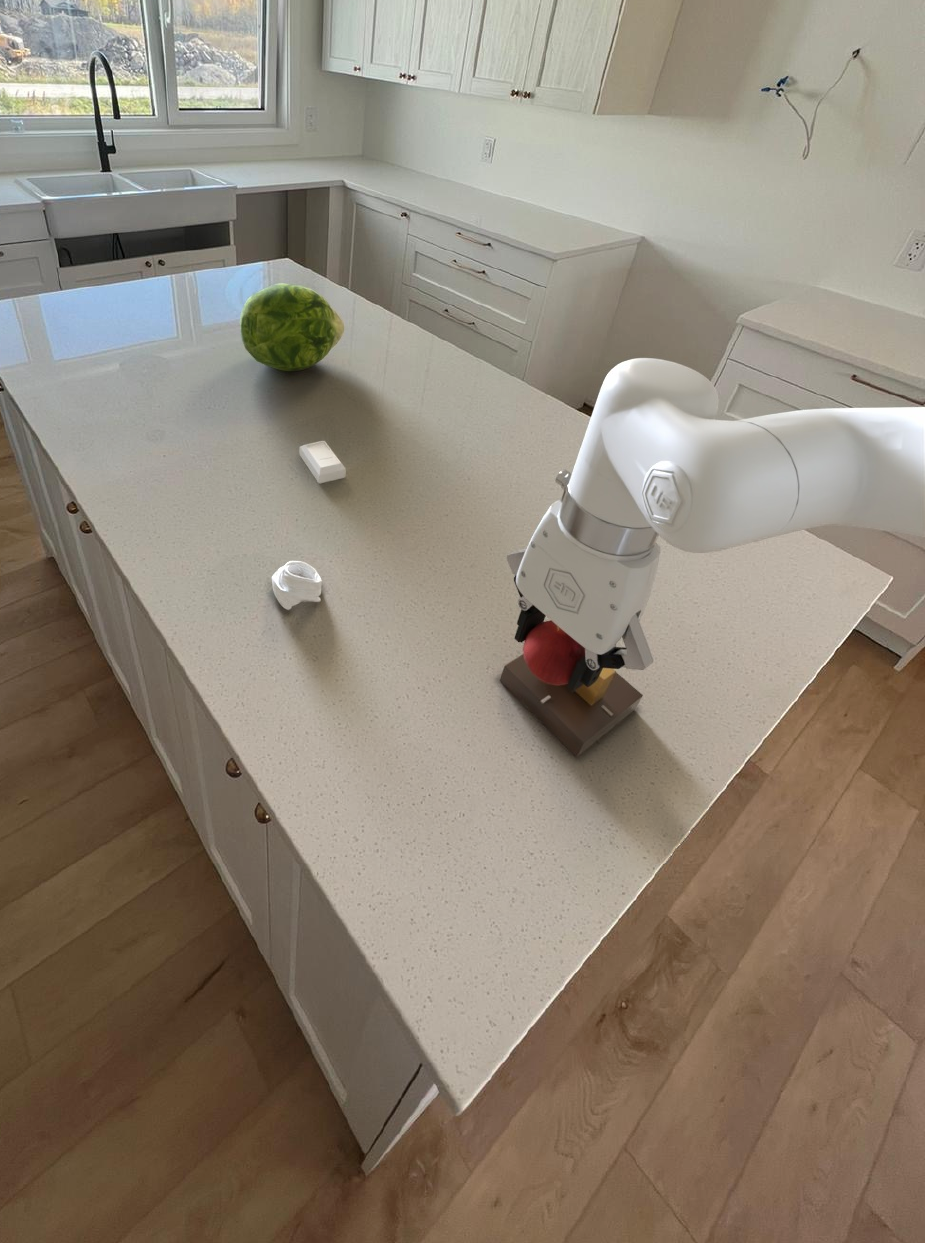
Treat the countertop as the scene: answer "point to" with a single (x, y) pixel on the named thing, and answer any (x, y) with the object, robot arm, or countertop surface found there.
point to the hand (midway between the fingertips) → (553, 656)
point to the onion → (551, 653)
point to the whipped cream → (296, 584)
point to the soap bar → (322, 462)
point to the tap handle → (596, 687)
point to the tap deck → (570, 705)
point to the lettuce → (289, 327)
